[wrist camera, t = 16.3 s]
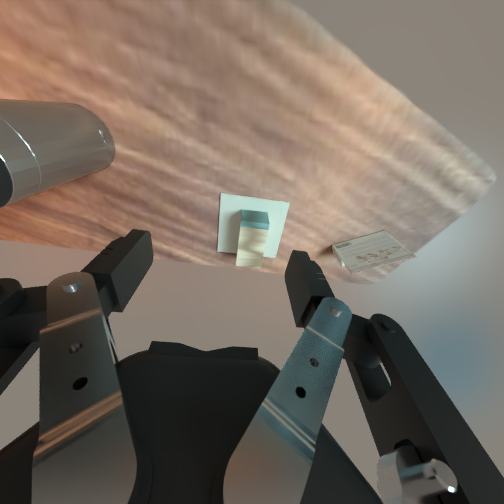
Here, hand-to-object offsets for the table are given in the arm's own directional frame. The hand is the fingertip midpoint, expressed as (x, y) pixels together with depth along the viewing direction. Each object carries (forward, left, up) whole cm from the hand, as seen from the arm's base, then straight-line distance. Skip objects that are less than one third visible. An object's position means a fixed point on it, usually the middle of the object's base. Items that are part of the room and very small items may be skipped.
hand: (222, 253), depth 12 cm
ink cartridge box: (+27, -12, -28) cm, 41 cm away
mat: (+4, -12, -27) cm, 30 cm away
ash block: (+4, -18, -24) cm, 31 cm away
